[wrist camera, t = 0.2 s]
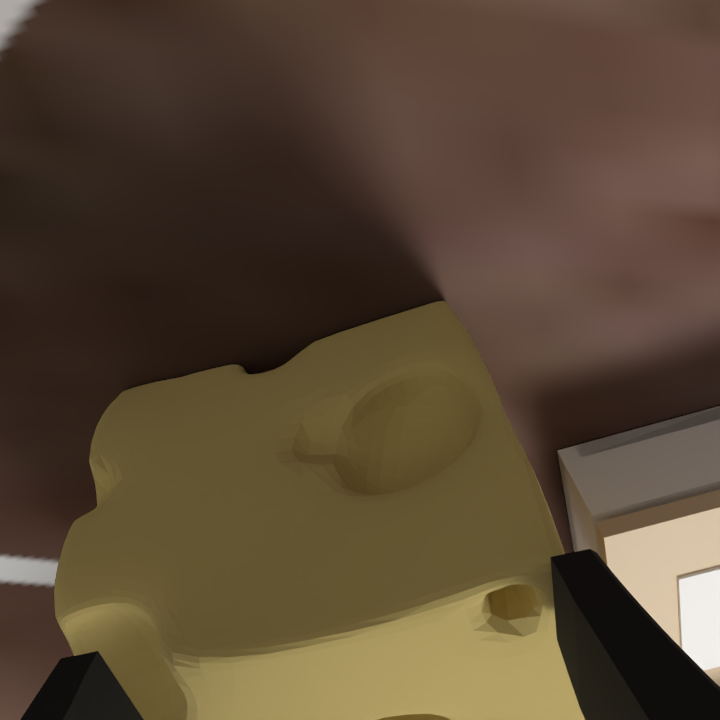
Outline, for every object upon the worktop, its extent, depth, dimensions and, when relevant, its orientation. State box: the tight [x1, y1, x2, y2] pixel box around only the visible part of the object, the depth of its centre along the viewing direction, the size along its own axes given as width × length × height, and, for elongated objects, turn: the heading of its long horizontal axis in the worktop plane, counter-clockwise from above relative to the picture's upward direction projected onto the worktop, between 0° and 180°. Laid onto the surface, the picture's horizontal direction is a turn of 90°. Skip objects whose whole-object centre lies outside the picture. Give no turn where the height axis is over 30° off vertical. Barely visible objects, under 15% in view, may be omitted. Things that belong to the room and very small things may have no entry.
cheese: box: [54, 301, 585, 720], centre depth 17 cm, size 10×11×10 cm
